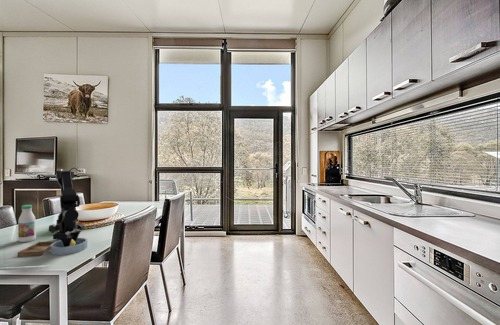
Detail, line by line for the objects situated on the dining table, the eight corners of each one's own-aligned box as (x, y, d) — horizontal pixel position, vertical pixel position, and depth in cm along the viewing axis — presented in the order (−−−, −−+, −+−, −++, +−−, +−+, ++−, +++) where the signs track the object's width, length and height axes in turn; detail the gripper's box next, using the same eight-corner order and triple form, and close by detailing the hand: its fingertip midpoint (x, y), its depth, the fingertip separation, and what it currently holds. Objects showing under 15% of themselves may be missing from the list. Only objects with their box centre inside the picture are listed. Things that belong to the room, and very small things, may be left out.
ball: (67, 247, 140) (67, 238, 139) (77, 247, 140) (77, 237, 140) (61, 250, 135) (61, 241, 134) (72, 250, 135) (72, 240, 135)
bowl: (61, 245, 144) (61, 238, 144) (92, 244, 146) (92, 237, 146) (43, 256, 129) (43, 248, 129) (78, 254, 131) (78, 246, 131)
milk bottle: (22, 239, 155) (21, 204, 154) (38, 237, 158) (37, 203, 157) (15, 243, 148) (15, 207, 147) (32, 241, 150) (32, 206, 150)
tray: (39, 246, 143) (38, 241, 143) (59, 245, 144) (59, 241, 144) (17, 257, 127) (17, 252, 127) (40, 256, 128) (40, 251, 128)
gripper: (62, 214, 145) (62, 242, 146) (40, 222, 127) (41, 255, 127) (84, 213, 147) (84, 241, 147) (66, 221, 128) (66, 254, 129)
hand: (69, 247), depth 137 cm, fingers closed on ball, 5 cm apart
